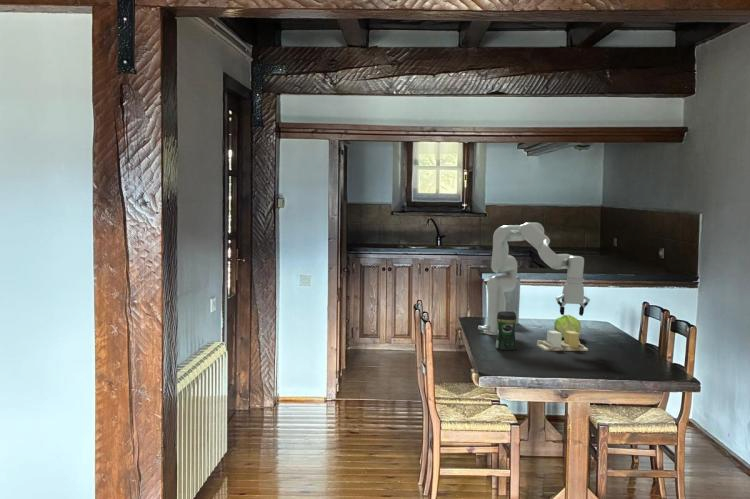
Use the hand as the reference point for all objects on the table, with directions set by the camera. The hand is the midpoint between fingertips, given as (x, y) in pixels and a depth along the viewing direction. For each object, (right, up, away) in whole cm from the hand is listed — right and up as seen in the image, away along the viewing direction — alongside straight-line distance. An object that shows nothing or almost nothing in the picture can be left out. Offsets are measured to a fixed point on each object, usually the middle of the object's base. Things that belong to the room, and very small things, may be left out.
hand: (571, 314), depth 380 cm
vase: (-18, -11, +70) cm, 73 cm away
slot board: (-4, -17, +1) cm, 17 cm away
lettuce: (+5, -15, +25) cm, 30 cm away
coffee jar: (-34, -16, -6) cm, 38 cm away
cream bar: (-9, -15, 0) cm, 18 cm away
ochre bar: (0, -16, +1) cm, 16 cm away
